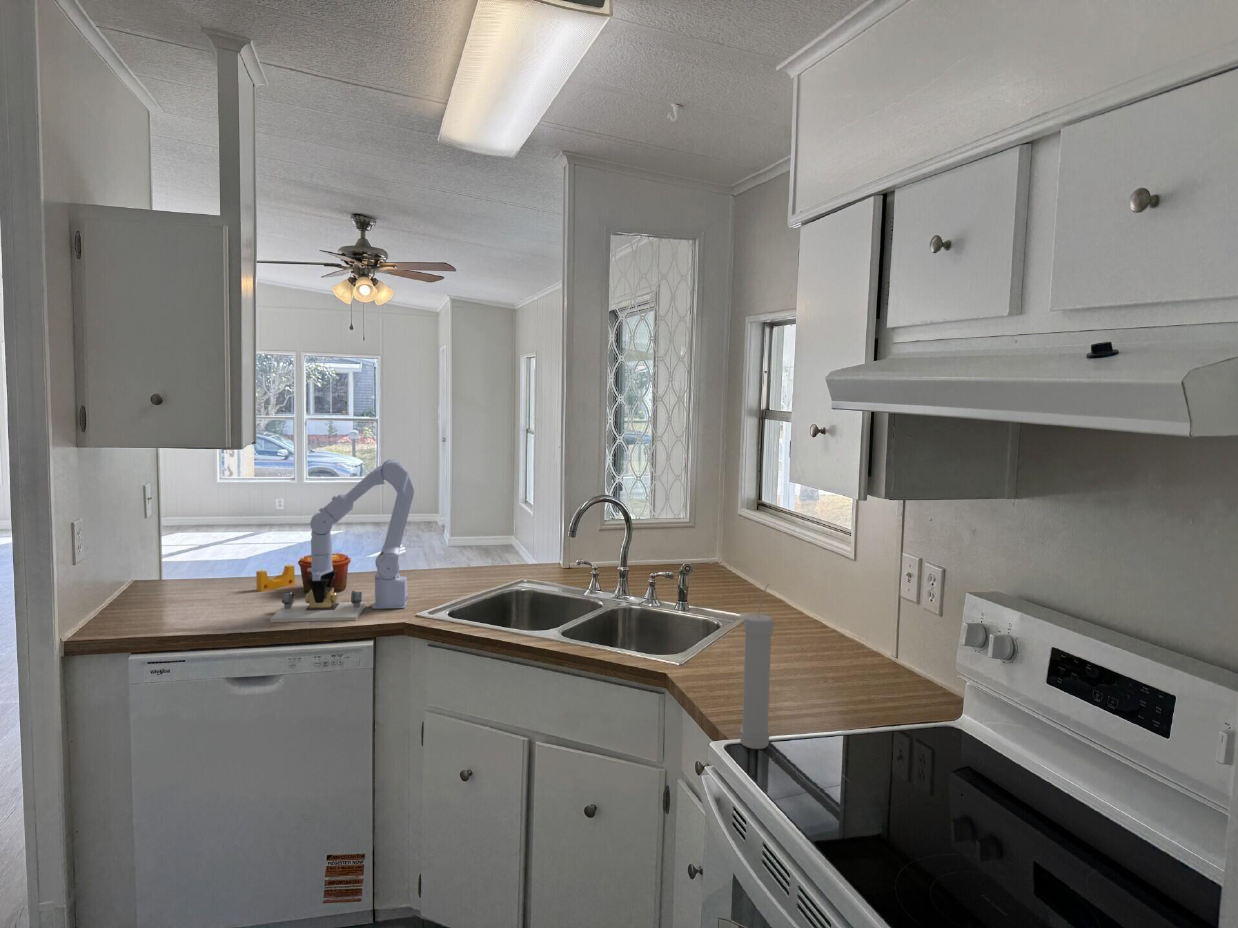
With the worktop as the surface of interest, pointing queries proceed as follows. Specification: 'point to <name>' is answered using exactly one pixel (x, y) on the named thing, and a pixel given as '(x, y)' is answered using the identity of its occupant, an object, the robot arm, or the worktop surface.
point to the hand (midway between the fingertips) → (322, 599)
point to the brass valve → (328, 599)
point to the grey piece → (756, 680)
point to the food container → (338, 565)
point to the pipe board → (319, 610)
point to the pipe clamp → (275, 579)
